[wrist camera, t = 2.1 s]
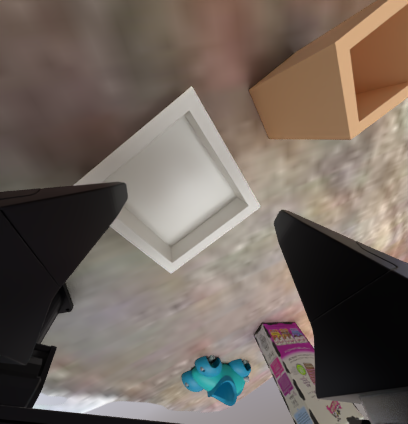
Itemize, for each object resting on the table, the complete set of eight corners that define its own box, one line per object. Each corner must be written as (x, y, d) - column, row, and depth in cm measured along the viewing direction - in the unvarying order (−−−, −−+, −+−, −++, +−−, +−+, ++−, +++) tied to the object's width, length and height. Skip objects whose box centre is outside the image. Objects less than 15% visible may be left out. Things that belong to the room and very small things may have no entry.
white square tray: (169, 253, 24) (170, 273, 21) (84, 181, 18) (65, 192, 14) (245, 196, 23) (260, 206, 20) (185, 97, 17) (191, 86, 13)
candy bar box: (252, 336, 40) (304, 450, 25) (261, 322, 38) (322, 435, 24) (286, 334, 44) (348, 432, 29) (295, 321, 42) (367, 418, 27)
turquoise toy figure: (228, 380, 48) (237, 414, 42) (176, 378, 40) (179, 419, 34) (251, 358, 46) (265, 391, 40) (201, 351, 38) (209, 391, 32)
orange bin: (269, 138, 21) (350, 139, 12) (248, 90, 18) (335, 42, 9) (308, 108, 20) (424, 84, 11) (294, 53, 17) (432, -35, 8)
